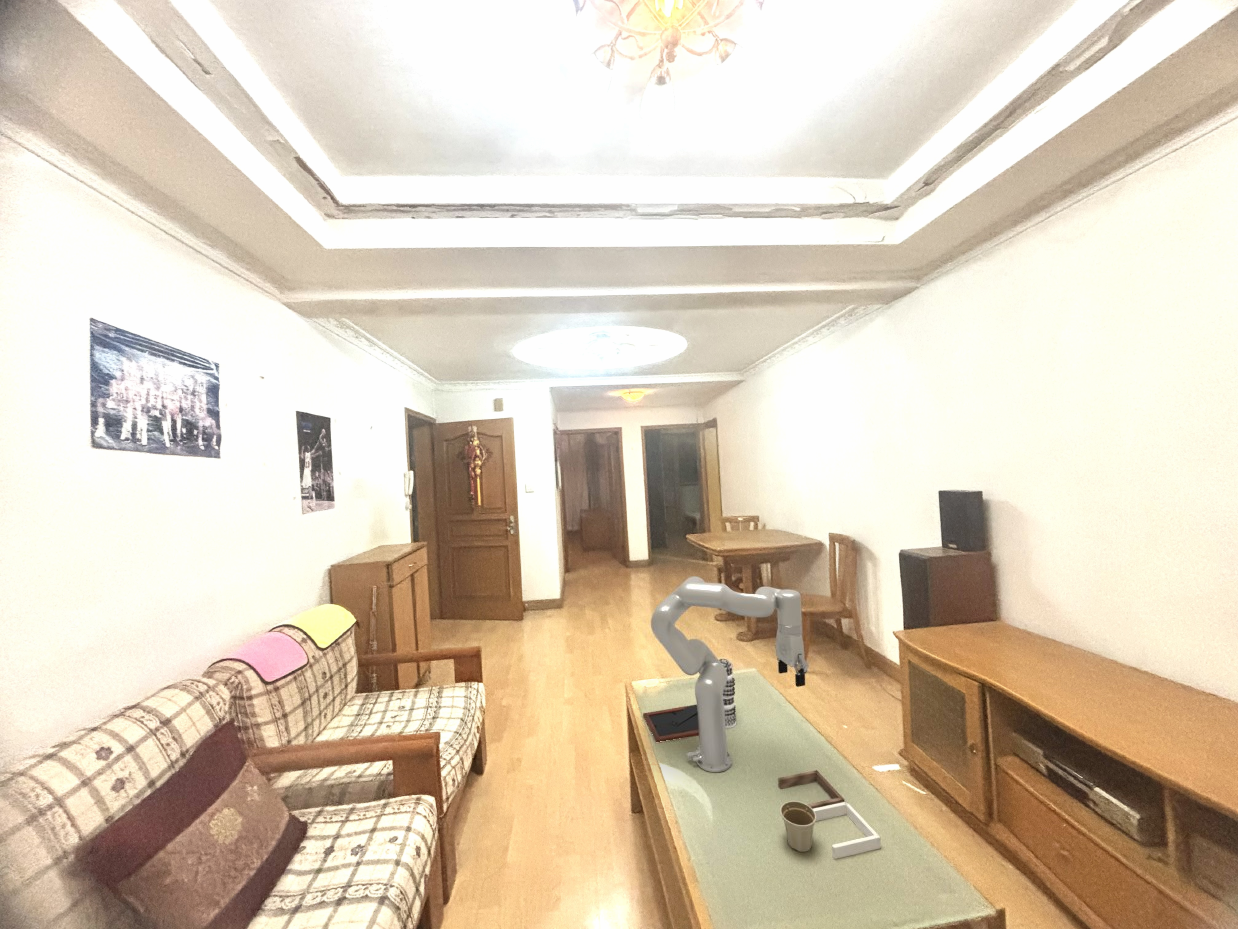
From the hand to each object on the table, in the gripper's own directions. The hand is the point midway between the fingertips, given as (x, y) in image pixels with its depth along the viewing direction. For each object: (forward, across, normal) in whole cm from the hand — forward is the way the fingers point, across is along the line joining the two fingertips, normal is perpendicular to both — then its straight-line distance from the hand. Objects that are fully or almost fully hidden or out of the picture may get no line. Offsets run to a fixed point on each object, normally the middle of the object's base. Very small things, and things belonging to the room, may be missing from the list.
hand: (791, 679), depth 160 cm
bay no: (+33, +10, -1) cm, 34 cm away
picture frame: (+35, -43, -25) cm, 60 cm away
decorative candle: (+34, -37, -6) cm, 51 cm away
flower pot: (+33, +24, -15) cm, 44 cm away
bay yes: (+33, +25, -2) cm, 41 cm away
